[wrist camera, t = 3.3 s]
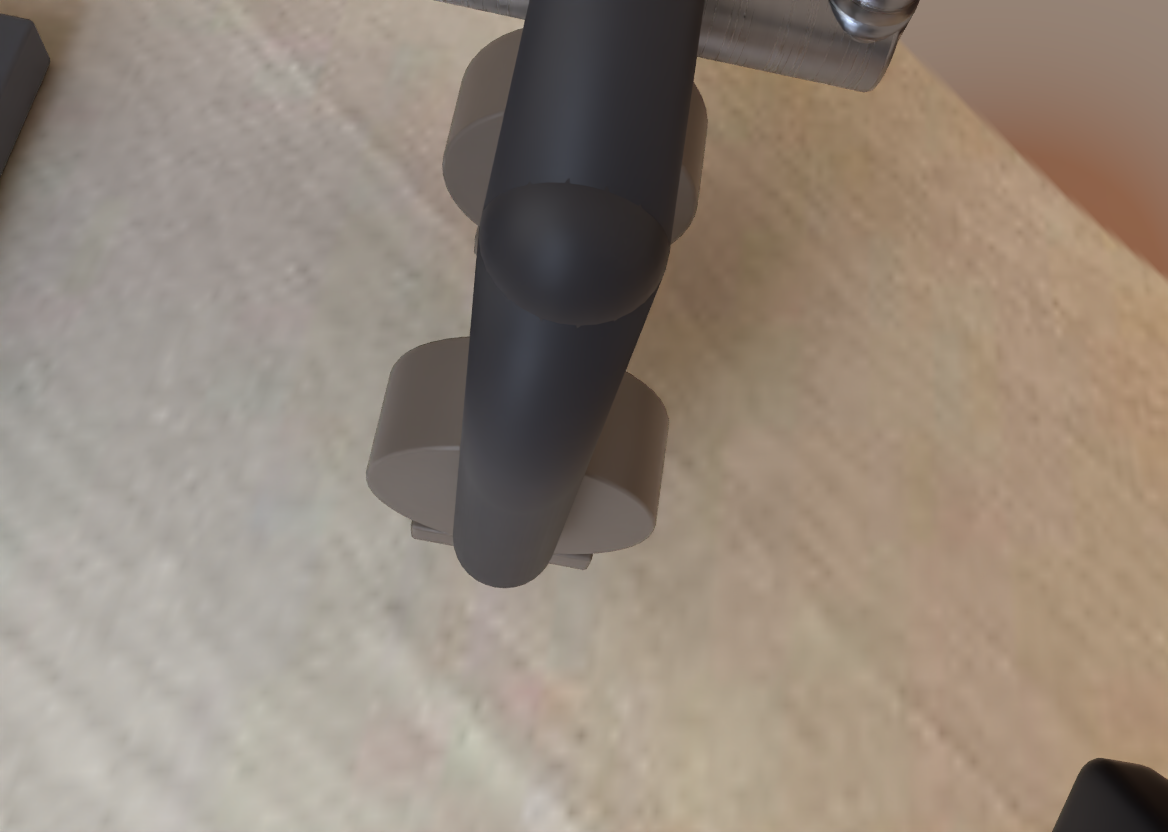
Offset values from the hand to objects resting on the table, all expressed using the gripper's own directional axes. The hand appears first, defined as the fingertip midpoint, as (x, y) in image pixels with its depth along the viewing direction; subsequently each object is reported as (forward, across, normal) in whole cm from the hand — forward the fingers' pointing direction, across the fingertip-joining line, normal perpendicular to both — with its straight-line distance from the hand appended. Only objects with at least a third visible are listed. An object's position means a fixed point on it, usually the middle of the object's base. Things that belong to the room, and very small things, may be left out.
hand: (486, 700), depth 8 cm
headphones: (+11, 0, +1) cm, 11 cm away
